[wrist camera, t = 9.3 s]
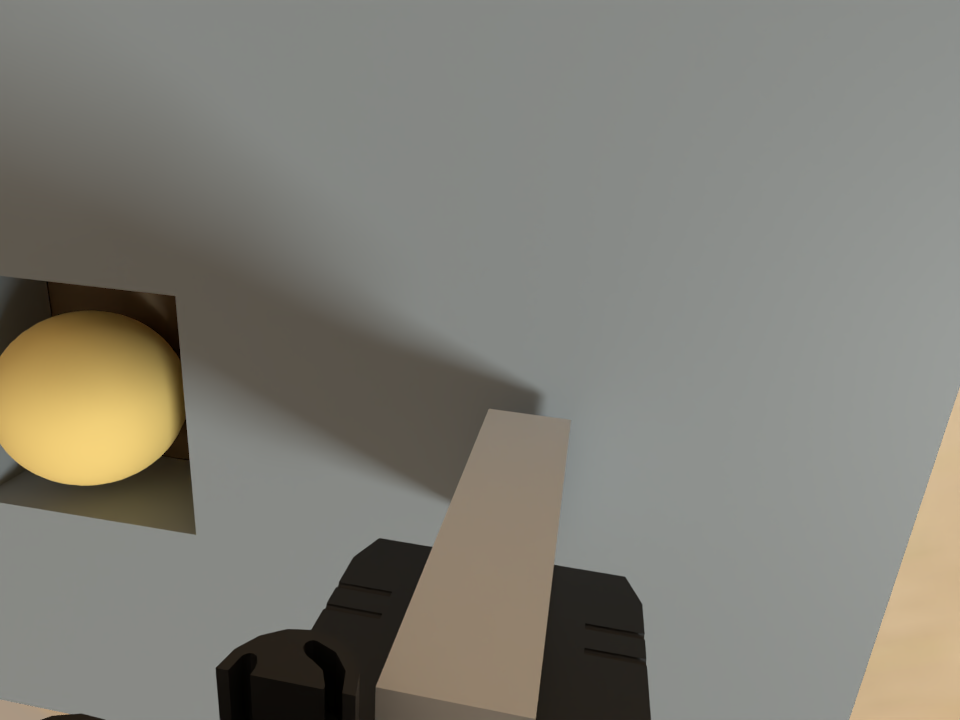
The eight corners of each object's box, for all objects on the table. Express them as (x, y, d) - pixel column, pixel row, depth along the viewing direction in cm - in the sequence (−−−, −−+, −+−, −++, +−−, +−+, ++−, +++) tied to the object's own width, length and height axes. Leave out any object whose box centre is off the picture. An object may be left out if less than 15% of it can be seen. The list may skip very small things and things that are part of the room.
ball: (205, 295, 17) (40, 286, 17) (136, 348, 13) (-80, 337, 13) (216, 439, 18) (63, 433, 18) (155, 524, 15) (-39, 517, 14)
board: (-95, -49, 15) (-253, -88, 12) (984, 0, 12) (1100, -38, 9) (33, 613, 21) (-54, 688, 18) (769, 751, 18) (800, 865, 15)
